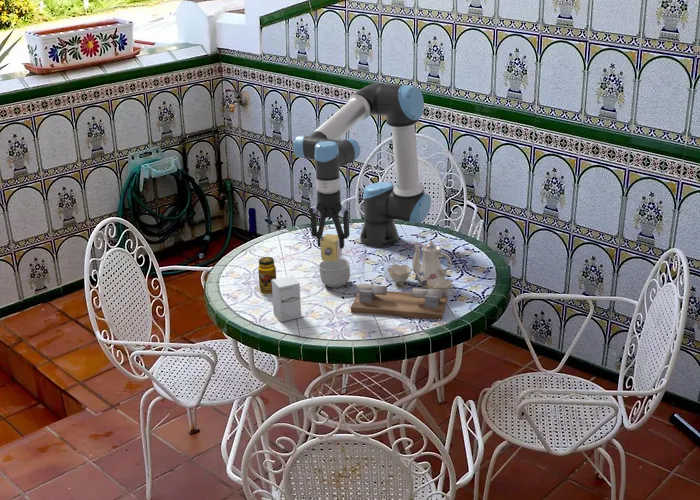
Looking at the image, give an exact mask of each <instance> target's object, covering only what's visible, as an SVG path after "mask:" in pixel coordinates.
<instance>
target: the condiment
mask: <svg viewBox="0 0 700 500" xmlns="http://www.w3.org/2000/svg"><path fill="white" fill-rule="evenodd" d="M257 270H258V271H257V273H258V281H259V282H258V283H259V285H256V286H254V288H255V289H256V290H257V292H258V293H259V295H261V296H262V297H264V296H268V295H269V296H270V295H272V281H271V280H272V279H277V268H276V265H275V259H274V258H273V257H270V256H264V257H261V258H259V259H258V268H257Z"/></svg>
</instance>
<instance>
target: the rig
mask: <svg viewBox="0 0 700 500" xmlns="http://www.w3.org/2000/svg"><path fill="white" fill-rule="evenodd" d="M356 291H357V295H356V297H355V299H354V301H352V304H351V306H350V313H354V314H355V313H356V314H365V315H366V314H367V315H374V316H375V315H377V316H378V315H379V316H390V317H398V318H399V317H402V318H411V319H412V318H413V319H424V320H434V319H438V320H437V321H442V320H441V319H443V317H442V316H444V314H443V313H445V310H446V306H447V304H448V300H449V299H448V298H449V297H448V296H449V295H447V296H446V295H442V290H440V289H429V288H417V287H415V288H413V287H412V292H407V291H406V292H403V291H390V290H388V286H387V285H376V284H374V283H363V284H361V283H358V284H357V289H356ZM439 319H440V320H439Z"/></svg>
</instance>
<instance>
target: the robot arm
mask: <svg viewBox="0 0 700 500" xmlns="http://www.w3.org/2000/svg"><path fill="white" fill-rule="evenodd" d="M424 108H425V102H424V97H423V93H422V91H421V90H420V89H419V88H418V87H417V86H413V85H408V84H395V83H385V82H376V83H371V84H368V85H366V86H364V87H363V88H361V89H359V90H357V91H355V92H354V93H353V94H352V95H350V97H349V96H348V98H347V101H346V104H344V105H343V106H342V107H340V108H339V109H338V110H337V111H336V112H335V113H334V114H332V116H330V117H329V118H328V119H327V120H325V122H324V121H323V123H322V124H321V125H319V126H318V127H317V128H316V129H315V130H314V131H313V132H312V133H311V134H309V135H298V136H297V137H296V138H295V139H294V142H293V144H292V145H293V147H292V148H293V153H294V155H295V156H296V157H297V158H300V159H305V160H311V161H312V160H313V161H315V162H314V163H315V165H314V166H315V179H316V180H315V182H316V190H317V191H316V200H317V201H316V202H317V203H316V204H315V206H314V205H311V206H310V207H309V208H308V212H309V215H310V231H311V237H315V238H316V239H317V248H321V240H322V239H323V237H324V236H325V235H323V233H324V229H325V225H326V221H327V218H328V219H332V222H333V224H334V227H335V229H336V235H338V237H339V238H338V239H337V255H338V259H340V258H341V257H342V256H343V249H344V247H345V240H347V239H348V238H349V237H350V215H349V214H350V211H351V208H349V207H348V208H346V207H343V205H342V204H341V201H342V200H341V190H340V189H341V182H340V181H341V179H340V168H342V167H343V166H346V165H348V164H352V163H353V162H354V161H355V160H357V159H358V158H359V157H360V154H361V146H360V144H359V143H358V141H357V140H355V138H354V139H353V138H349V137H348V138H344V139H342V140H340V139H341V138H342V137H343V136H344V135H345V134H346V133H347V132H348V131H349V130H350V129H352V128H353V127H354V126H356V125H357V123H358V122H359V121H362V120H366V119H368V117H370V116H379V117H380V116H382V117H385V121H386V125H387V126H388V127H389V128H390V129H391V130H390V131H391V138H392V139H391V140H392V149H393V152H392V153H393V160H394V170H395V172H394V173H395V181H396V185H394V184H393V183H392V182H389V181H380V182H375V183H371V184H368V185H367V186H366V187H365V188H364V189H363V197H362V199H363V215H364V216H363V217H364V219H363V220H364V222H363V225H362V229H361V233H360V239H359V240H360V242H361V244H362V245H364V246H368V247H371V248H385V247H390V246H393V245H395V244H397V243H398V242H399V232H398V229H397V227H396V224H395V221H402V222H407V223H410V224H412V223H414V224H421V223H423V222H424V221H425V220H426V218H427V216H428V214H429V213H430V211H431V206H432V204H431V203H432V199H431V195H429V193H425V189H424V185H423V184H421V182H420V175H419V162H418V161H419V160H418V150H417V149H418V148H417V135H416V124H418V123H419V120H420V118H421V117H422V116H423V114H424ZM317 211H318V213H319V214H320V220H319V224H317V220H318V219H317ZM340 212H341V214H342V222H343V226H342V223H341V221H340V215H339V213H340ZM317 226H318V227H317ZM320 258H322V255H321V254H320Z"/></svg>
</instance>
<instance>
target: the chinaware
mask: <svg viewBox="0 0 700 500" xmlns="http://www.w3.org/2000/svg"><path fill="white" fill-rule="evenodd" d="M413 245H414V247H415V252H414V255H413V258H412V263H411V267H412V268H411V267H410V266H409V265H408V264H402V265H400V264H393V265H391V266H390V267H388V268H387V269H386V270H387V272H388V274H389V276H390V278H391V279H392V280H393V281H394V282H395V284H396V285H404V284H405V282H406V281H407V280H408V279H409V277H410V275H411V272H413V273H414V274H415V280H416V281H417V282H418V284H419V286H420V287H422V288H424V289H440V290H442V295H446V296H450V297H452V296H454V295H455V289H454V288H453V287H452V285H453V284H452V280H451V279H450V278H446V277H447V273H448V271H449V270H450V269H451V267H452V259H451V257H450V256H449V255H448V254H447V253H444V252H440V250H441V247H440V246H439V245H436V244H435V243H434V242H433V240H429V242H428V243H427V244H425V245H423V246H421V249H420V247H419V245H418V243H414V244H413ZM421 250H422V262H421V263H420V257H421V255H420V254H421ZM443 256H445V258H447V259H448V263H449V265H448V267H447V268H445V269H444V268H443V266H442V264H441V262H440V258H442V257H443ZM449 290H452V294H449V293H448V292H449Z"/></svg>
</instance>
